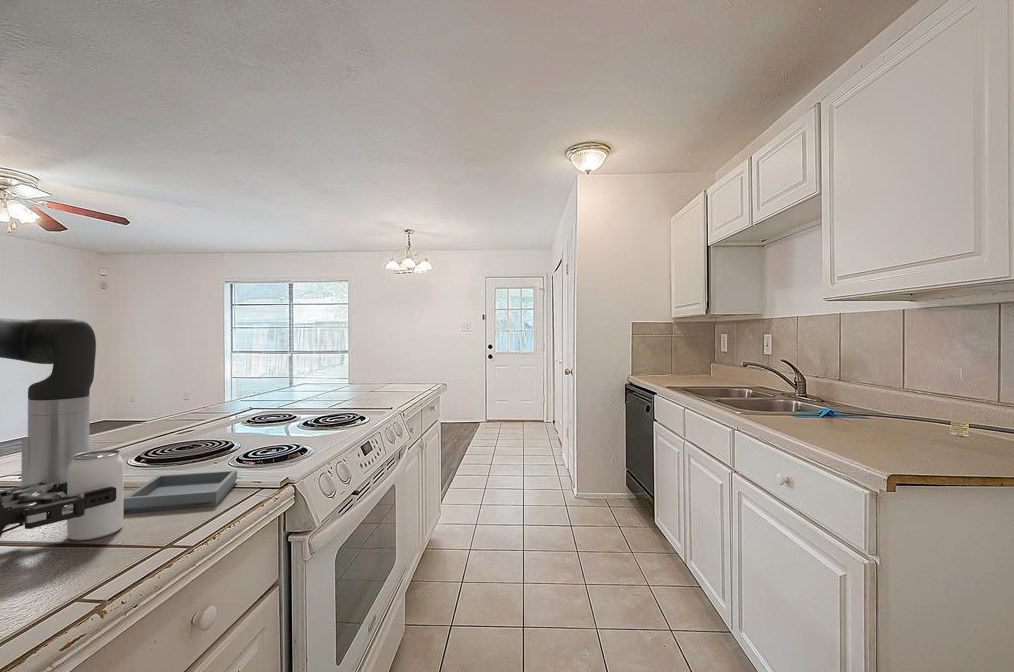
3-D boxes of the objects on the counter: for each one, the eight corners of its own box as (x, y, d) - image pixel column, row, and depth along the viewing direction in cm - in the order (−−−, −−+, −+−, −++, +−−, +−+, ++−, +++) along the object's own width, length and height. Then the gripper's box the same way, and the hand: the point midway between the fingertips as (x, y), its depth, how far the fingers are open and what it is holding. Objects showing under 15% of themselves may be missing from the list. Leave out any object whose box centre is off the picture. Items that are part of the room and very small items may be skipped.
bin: (122, 513, 80) (122, 498, 80) (157, 488, 94) (157, 475, 94) (215, 505, 84) (216, 491, 84) (237, 482, 98) (237, 470, 98)
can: (90, 543, 69) (90, 460, 69) (55, 539, 70) (55, 458, 70) (134, 526, 75) (134, 450, 75) (100, 522, 76) (101, 448, 76)
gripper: (-40, 505, 56) (124, 471, 70) (-75, 486, 62) (81, 458, 77) (-40, 569, 56) (124, 522, 70) (-75, 543, 62) (81, 504, 77)
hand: (102, 488), depth 73 cm, fingers open, 8 cm apart
